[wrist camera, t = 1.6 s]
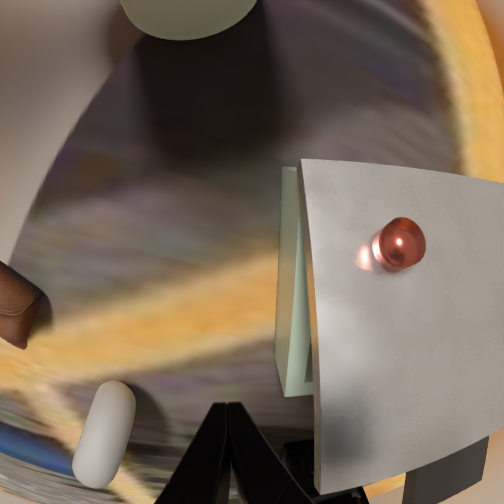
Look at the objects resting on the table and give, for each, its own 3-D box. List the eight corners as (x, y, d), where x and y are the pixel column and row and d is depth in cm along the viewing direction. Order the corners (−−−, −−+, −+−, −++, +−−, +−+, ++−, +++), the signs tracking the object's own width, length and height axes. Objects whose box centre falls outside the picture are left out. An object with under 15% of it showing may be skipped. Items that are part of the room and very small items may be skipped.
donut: (119, 427, 26) (100, 507, 16) (89, 413, 25) (62, 490, 15) (151, 369, 23) (128, 469, 14) (113, 350, 22) (74, 446, 13)
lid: (516, 447, 11) (539, 451, 9) (312, 532, 9) (325, 556, 7) (498, 190, 15) (518, 176, 13) (296, 170, 14) (306, 143, 12)
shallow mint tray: (422, 334, 25) (450, 366, 20) (273, 352, 23) (284, 397, 19) (452, 180, 20) (496, 192, 15) (281, 166, 19) (300, 173, 14)
